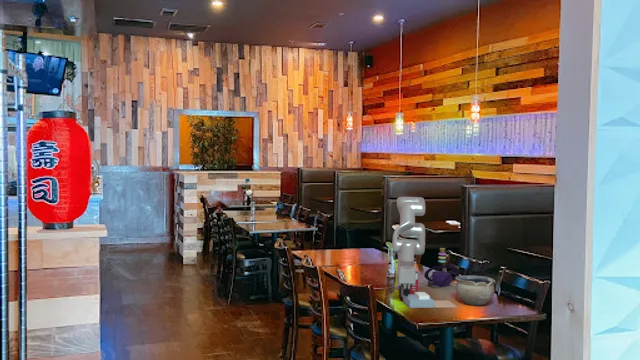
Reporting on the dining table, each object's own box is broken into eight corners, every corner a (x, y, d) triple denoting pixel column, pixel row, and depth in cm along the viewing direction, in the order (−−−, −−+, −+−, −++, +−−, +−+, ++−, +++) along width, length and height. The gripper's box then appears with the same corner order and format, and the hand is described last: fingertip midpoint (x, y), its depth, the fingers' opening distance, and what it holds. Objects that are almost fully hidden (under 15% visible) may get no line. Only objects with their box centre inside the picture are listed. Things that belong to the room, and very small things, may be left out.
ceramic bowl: (466, 309, 312) (467, 282, 312) (448, 299, 333) (448, 274, 333) (501, 307, 318) (502, 281, 318) (481, 298, 339) (481, 273, 339)
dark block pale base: (400, 298, 334) (401, 273, 334) (398, 296, 338) (399, 271, 338) (418, 297, 336) (418, 272, 336) (415, 295, 340) (416, 271, 340)
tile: (414, 295, 325) (414, 292, 325) (424, 295, 326) (424, 292, 325) (419, 299, 316) (419, 295, 316) (429, 299, 317) (429, 295, 317)
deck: (402, 301, 327) (403, 294, 326) (426, 301, 328) (426, 294, 328) (409, 307, 313) (410, 300, 313) (434, 307, 315) (434, 300, 314)
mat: (427, 301, 328) (427, 300, 328) (448, 301, 330) (448, 300, 330) (434, 307, 315) (434, 306, 315) (457, 307, 316) (457, 306, 316)
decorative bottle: (456, 283, 379) (457, 246, 378) (460, 290, 358) (462, 251, 357) (422, 281, 382) (424, 245, 381) (425, 288, 361) (426, 250, 360)
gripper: (417, 262, 323) (416, 294, 324) (392, 262, 322) (391, 294, 322) (421, 265, 316) (420, 297, 317) (395, 264, 314) (394, 297, 315)
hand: (405, 295), depth 319 cm, fingers closed
